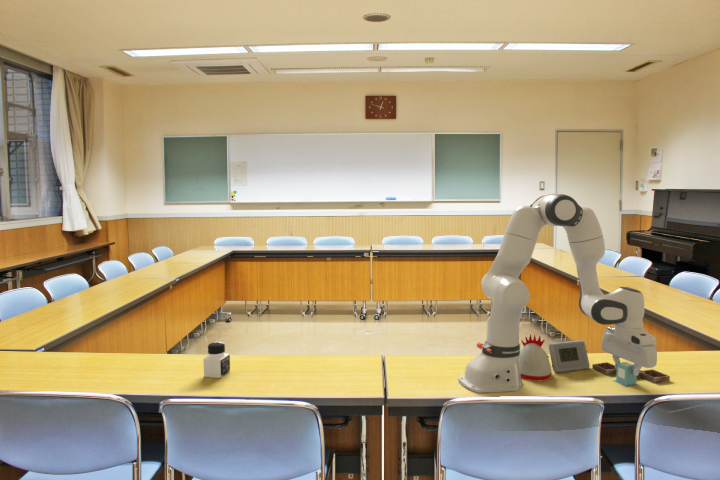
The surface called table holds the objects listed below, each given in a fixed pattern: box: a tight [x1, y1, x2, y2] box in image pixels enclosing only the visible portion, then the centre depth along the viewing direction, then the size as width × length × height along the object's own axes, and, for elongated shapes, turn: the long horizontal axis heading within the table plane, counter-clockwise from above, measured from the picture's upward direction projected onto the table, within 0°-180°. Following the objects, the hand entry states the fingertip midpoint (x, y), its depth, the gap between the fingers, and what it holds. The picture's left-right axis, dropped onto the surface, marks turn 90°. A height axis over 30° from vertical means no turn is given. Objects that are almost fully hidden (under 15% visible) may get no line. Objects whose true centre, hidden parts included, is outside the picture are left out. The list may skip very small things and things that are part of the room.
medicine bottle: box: [202, 341, 231, 379], centre depth 175 cm, size 7×7×12 cm
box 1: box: [591, 361, 617, 376], centre depth 176 cm, size 7×7×2 cm
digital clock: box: [548, 339, 591, 374], centre depth 179 cm, size 16×9×11 cm, turn 94°
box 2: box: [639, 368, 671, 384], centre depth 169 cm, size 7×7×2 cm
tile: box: [612, 379, 640, 388], centre depth 165 cm, size 6×6×1 cm
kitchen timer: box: [519, 333, 552, 382], centre depth 175 cm, size 14×14×15 cm
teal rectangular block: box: [615, 361, 638, 385], centre depth 165 cm, size 4×4×7 cm
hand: (626, 371), depth 165 cm, fingers open, 5 cm apart
